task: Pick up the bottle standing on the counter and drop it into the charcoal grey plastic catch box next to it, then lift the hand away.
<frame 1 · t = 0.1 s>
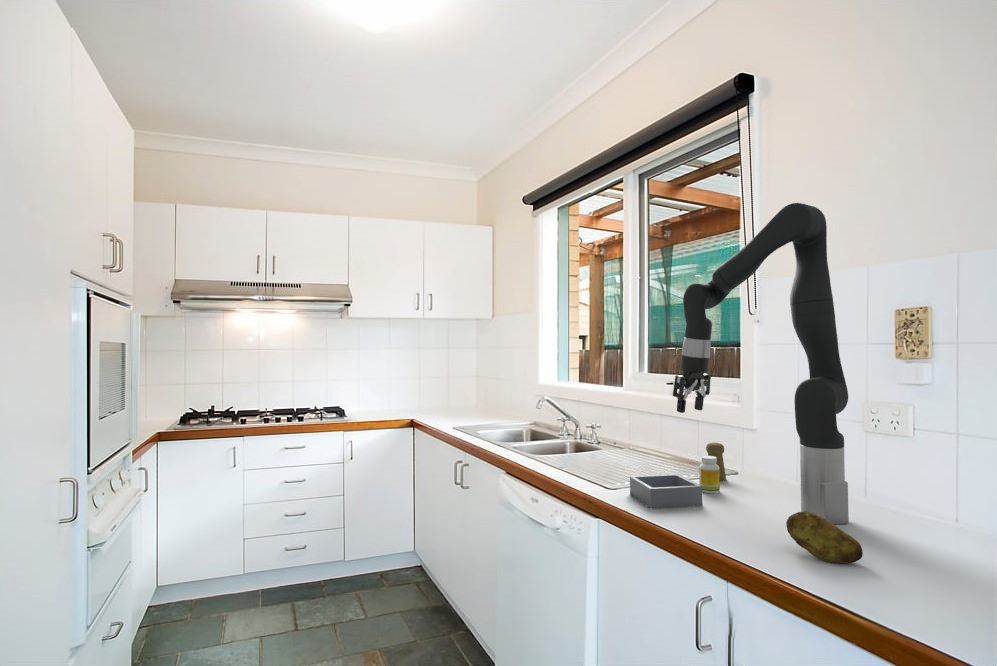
hand: (689, 411, 169), 22 cm above the worktop, tool pointing down, fingers open, 8 cm apart
cork: (715, 479, 181), on the worktop
potato: (822, 558, 116), on the worktop
supplement bottle: (709, 492, 167), on the worktop
catch box: (664, 500, 159), on the worktop
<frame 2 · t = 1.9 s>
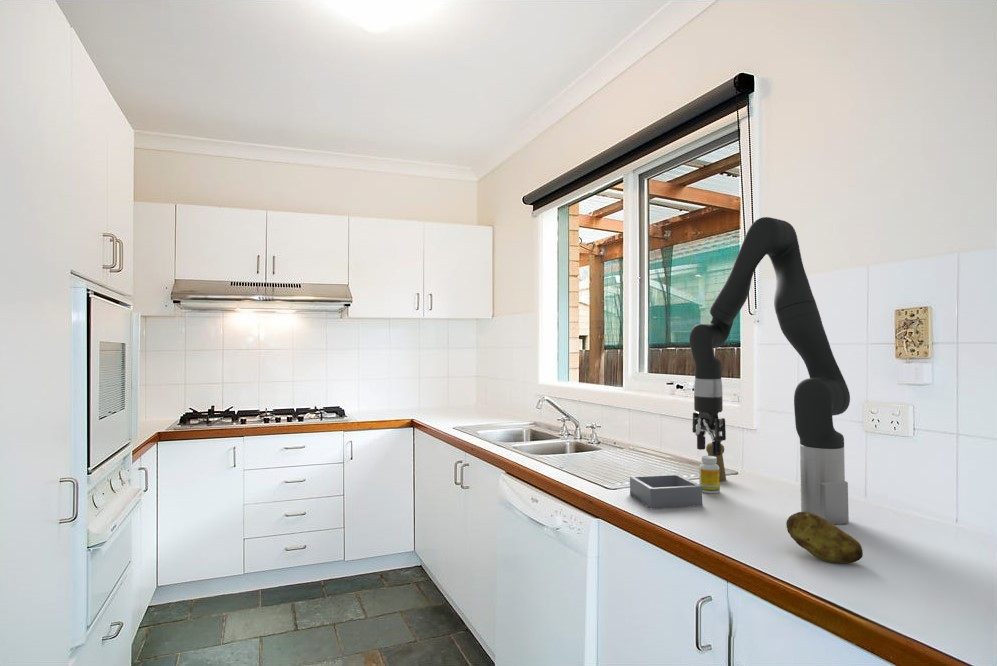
hand: (708, 452, 168), 11 cm above the worktop, tool pointing down, fingers open, 8 cm apart
nothing on the worktop moved.
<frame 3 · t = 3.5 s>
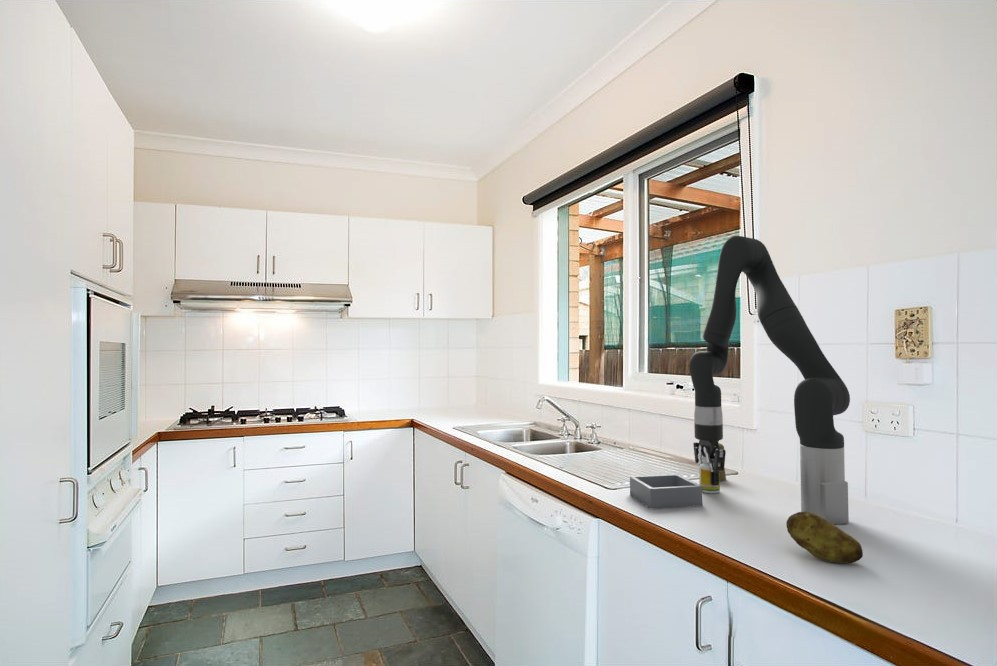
hand: (709, 482, 167), 2 cm above the worktop, tool pointing down, fingers closed on supplement bottle, 5 cm apart
supplement bottle: (709, 492, 167), on the worktop, touching gripper
everything else where it was.
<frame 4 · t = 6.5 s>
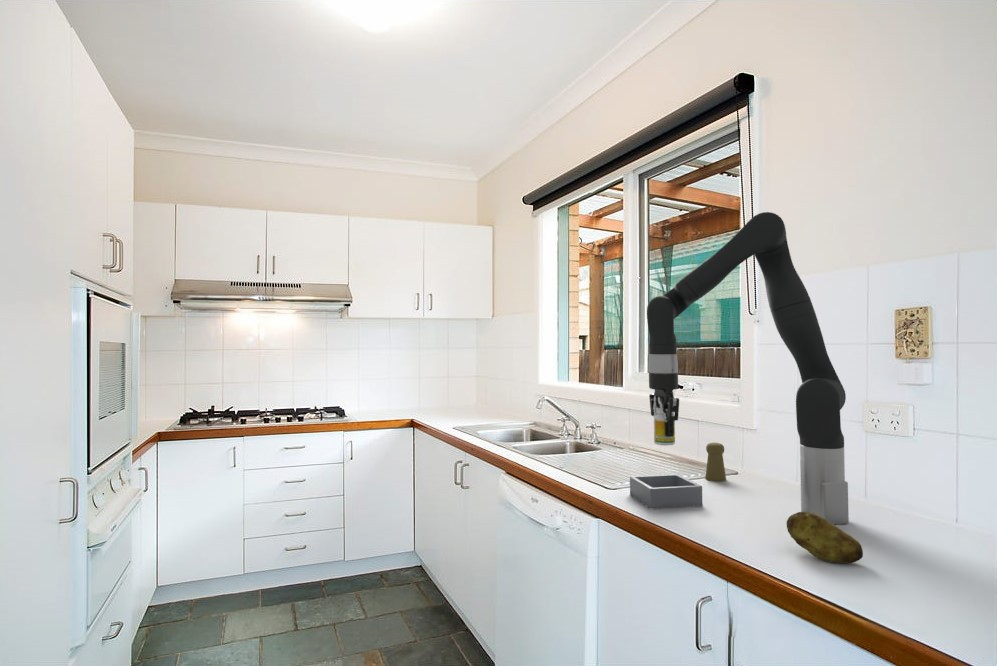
hand: (664, 434, 159), 17 cm above the worktop, tool pointing down, fingers closed on supplement bottle, 5 cm apart
supplement bottle: (664, 444, 159), point 15 cm above the worktop, touching gripper
everything else where it was.
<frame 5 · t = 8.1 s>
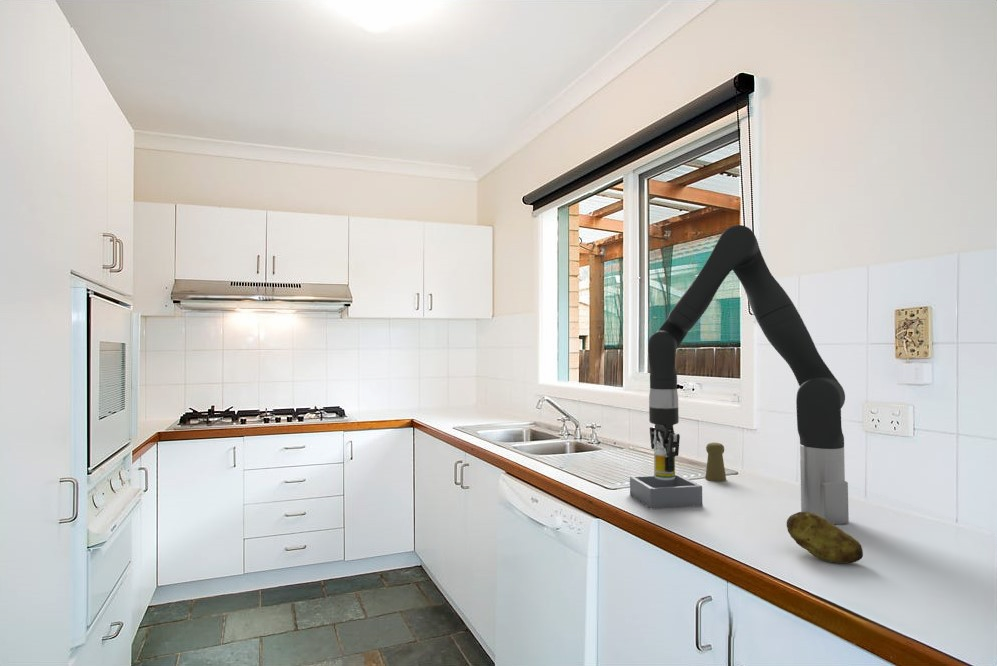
hand: (664, 468, 159), 8 cm above the worktop, tool pointing down, fingers closed on supplement bottle, 5 cm apart
supplement bottle: (664, 479, 159), point 6 cm above the worktop, touching gripper
everything else where it was.
when the fingers open (6 cm above the worktop, at t = 9.5 s): supplement bottle drops 2 cm, resting on catch box.
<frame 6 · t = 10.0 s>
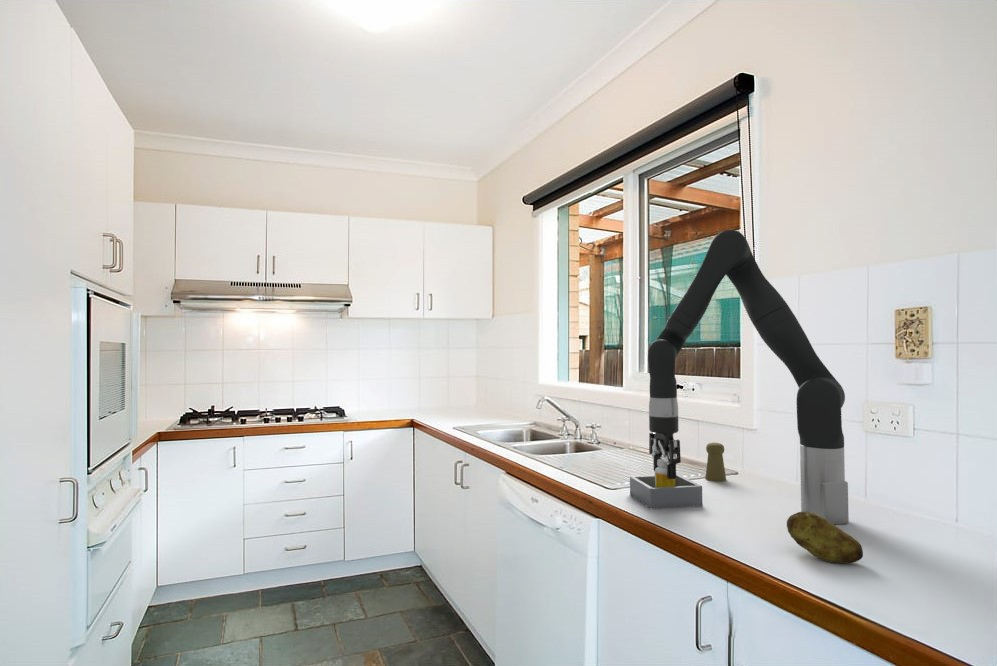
hand: (664, 475, 159), 7 cm above the worktop, tool pointing down, fingers open, 8 cm apart
supplement bottle: (665, 497, 159), point 1 cm above the worktop, touching catch box
everything else where it was.
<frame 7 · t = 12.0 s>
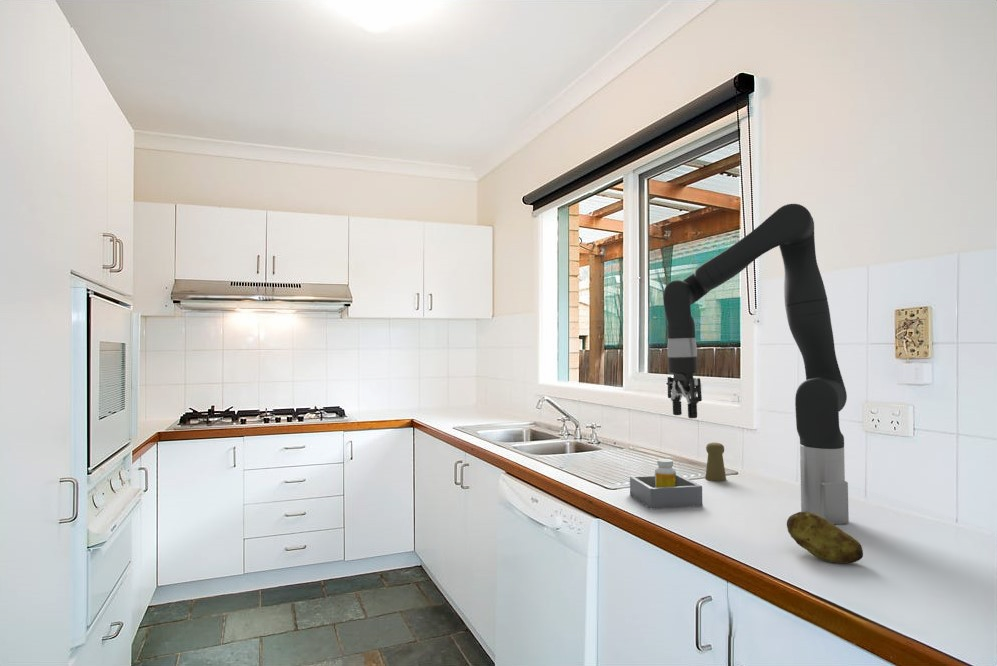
hand: (684, 416, 159), 22 cm above the worktop, tool pointing down, fingers open, 8 cm apart
nothing on the worktop moved.
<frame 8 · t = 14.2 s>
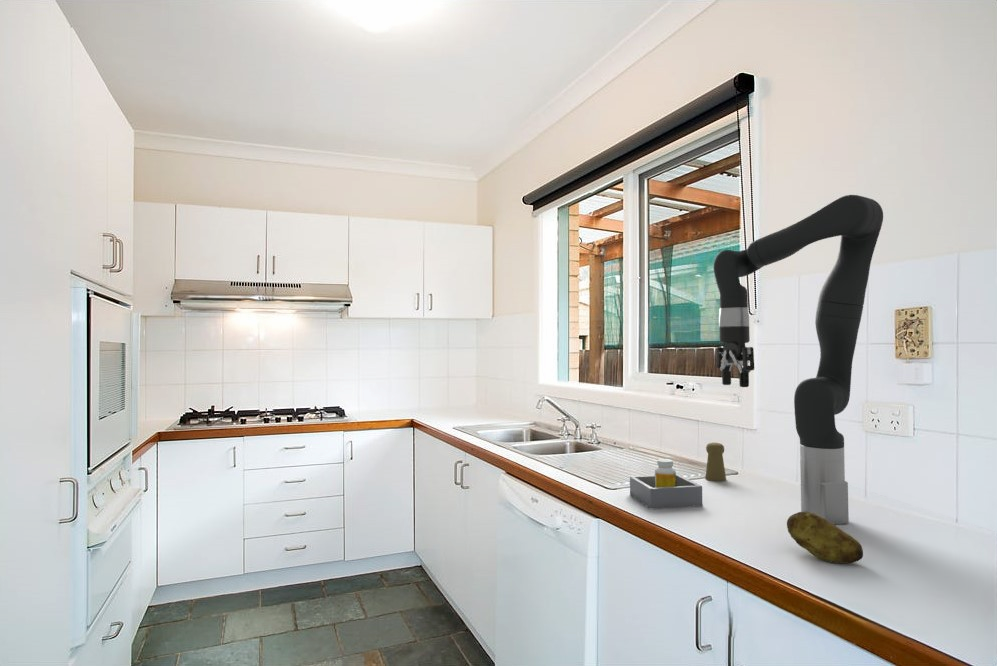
hand: (735, 385, 159), 30 cm above the worktop, tool pointing down, fingers open, 8 cm apart
nothing on the worktop moved.
at the end: supplement bottle inside the target area on the catch box (0.2 cm from its centre), point 0.8 cm above the catch box's base; the gripper is holding nothing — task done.
